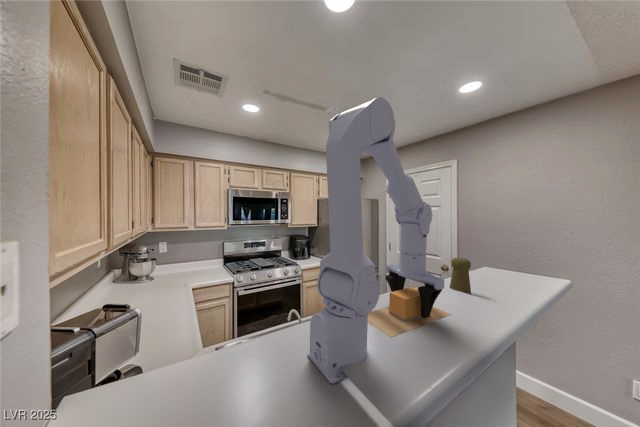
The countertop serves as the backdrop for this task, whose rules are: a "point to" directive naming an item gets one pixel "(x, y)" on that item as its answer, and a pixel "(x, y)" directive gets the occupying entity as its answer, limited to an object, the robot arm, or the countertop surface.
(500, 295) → the countertop surface
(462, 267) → the cork
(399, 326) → the pine board
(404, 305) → the block
